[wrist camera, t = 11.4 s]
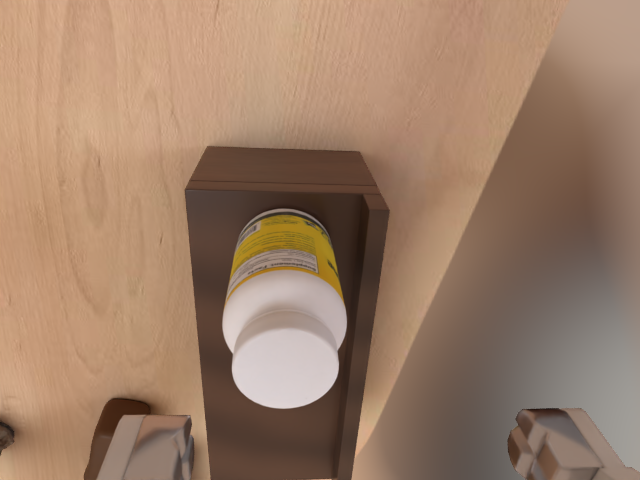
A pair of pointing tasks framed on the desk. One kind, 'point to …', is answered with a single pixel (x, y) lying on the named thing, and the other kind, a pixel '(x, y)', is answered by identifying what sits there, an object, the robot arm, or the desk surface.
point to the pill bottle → (284, 310)
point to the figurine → (5, 436)
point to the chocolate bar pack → (109, 431)
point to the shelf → (211, 290)
